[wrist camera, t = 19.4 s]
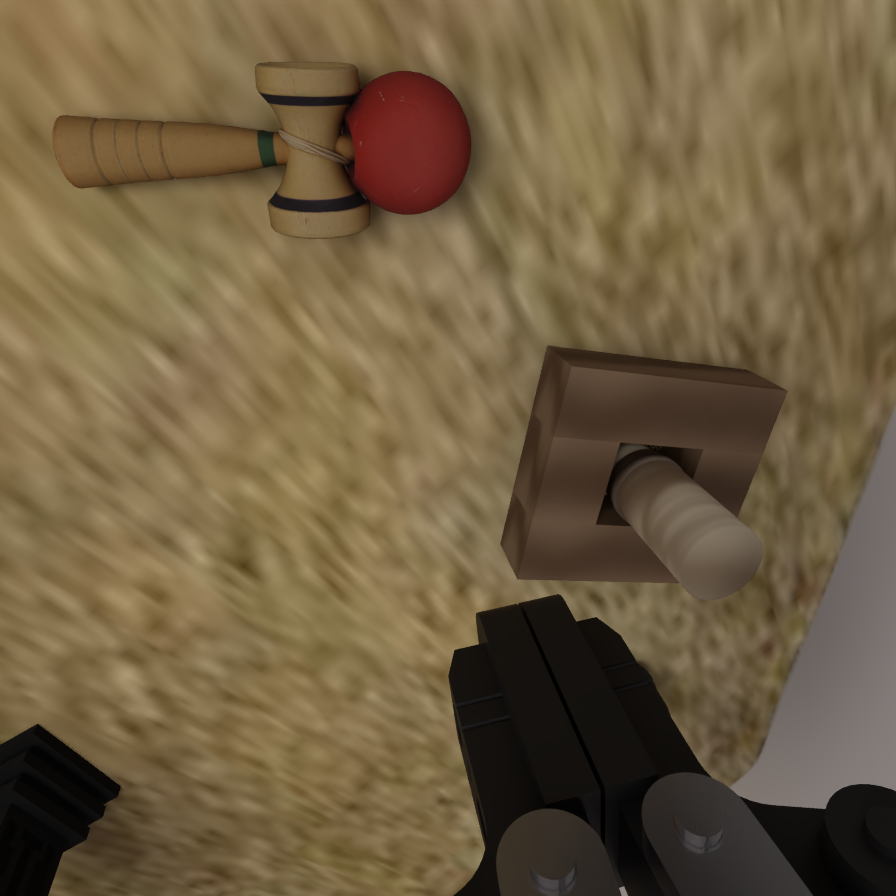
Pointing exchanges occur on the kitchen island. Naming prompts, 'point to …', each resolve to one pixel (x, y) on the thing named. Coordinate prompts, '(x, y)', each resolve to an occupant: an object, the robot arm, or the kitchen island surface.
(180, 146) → the kendama
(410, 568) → the kitchen island surface
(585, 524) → the block
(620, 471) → the peg
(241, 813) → the kitchen island surface
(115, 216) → the kitchen island surface
